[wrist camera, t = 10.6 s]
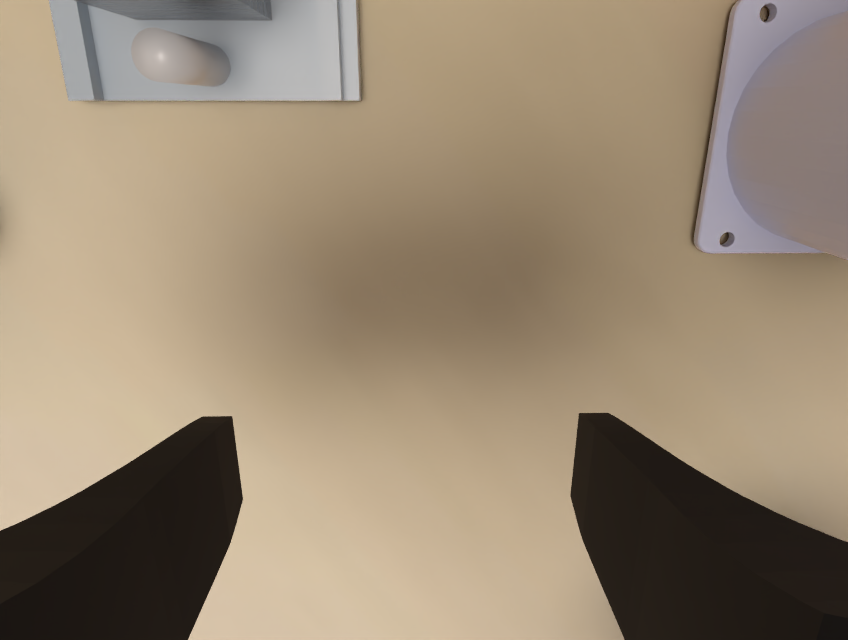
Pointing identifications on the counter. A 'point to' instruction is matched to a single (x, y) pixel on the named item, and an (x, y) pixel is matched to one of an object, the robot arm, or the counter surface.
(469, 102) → the counter surface
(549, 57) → the counter surface
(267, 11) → the block
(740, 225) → the robot arm
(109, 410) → the counter surface
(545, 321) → the counter surface
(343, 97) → the tray
